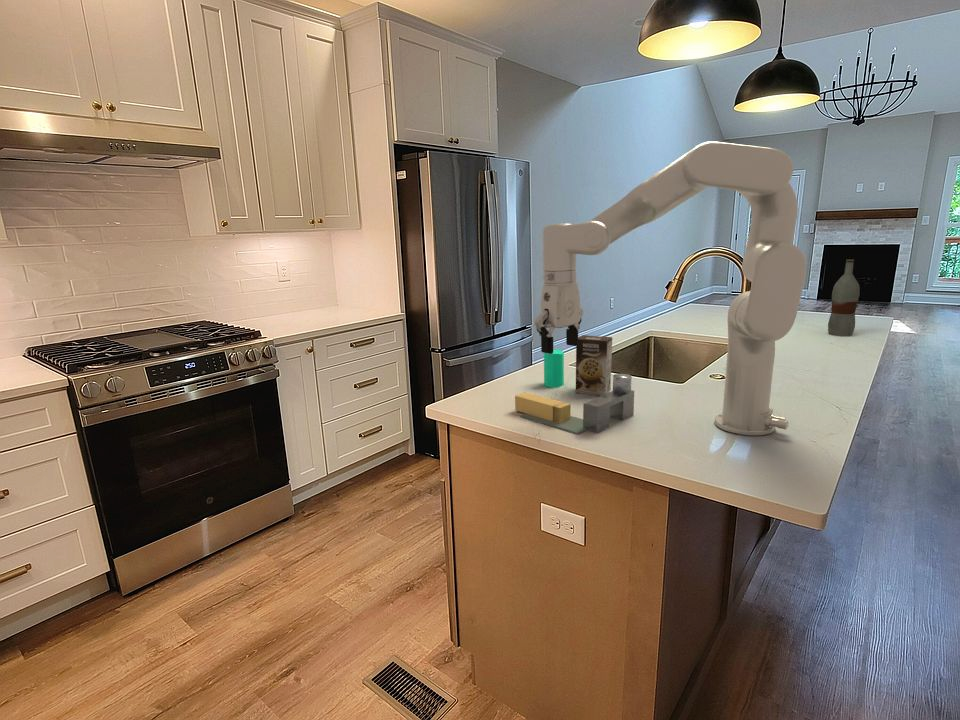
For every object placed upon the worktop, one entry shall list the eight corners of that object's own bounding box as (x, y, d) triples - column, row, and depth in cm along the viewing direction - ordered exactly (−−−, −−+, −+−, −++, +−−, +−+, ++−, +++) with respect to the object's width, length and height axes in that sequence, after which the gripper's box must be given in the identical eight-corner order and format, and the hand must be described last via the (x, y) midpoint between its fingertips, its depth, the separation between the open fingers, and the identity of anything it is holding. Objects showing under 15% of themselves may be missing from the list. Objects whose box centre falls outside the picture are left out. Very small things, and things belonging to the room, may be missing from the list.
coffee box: (574, 392, 151) (575, 338, 147) (581, 386, 156) (581, 334, 152) (605, 396, 146) (607, 340, 142) (611, 389, 152) (612, 336, 148)
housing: (634, 415, 131) (635, 375, 128) (598, 433, 120) (598, 390, 118) (618, 411, 134) (620, 372, 132) (582, 428, 124) (582, 386, 121)
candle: (548, 388, 156) (548, 349, 153) (541, 383, 161) (540, 345, 158) (567, 386, 157) (567, 347, 154) (558, 381, 163) (558, 343, 160)
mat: (597, 424, 126) (597, 423, 126) (577, 434, 120) (577, 432, 120) (540, 408, 138) (540, 407, 138) (520, 416, 133) (520, 415, 133)
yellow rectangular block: (570, 419, 129) (570, 403, 128) (560, 423, 126) (560, 408, 125) (525, 406, 140) (525, 392, 139) (515, 410, 137) (515, 395, 136)
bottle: (822, 332, 216) (831, 259, 209) (846, 332, 215) (856, 258, 207) (833, 336, 207) (843, 260, 200) (858, 336, 206) (869, 260, 198)
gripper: (548, 282, 113) (549, 358, 117) (594, 275, 124) (593, 344, 128) (522, 280, 118) (524, 353, 122) (568, 274, 129) (569, 340, 134)
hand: (560, 349), depth 125 cm, fingers open, 9 cm apart
